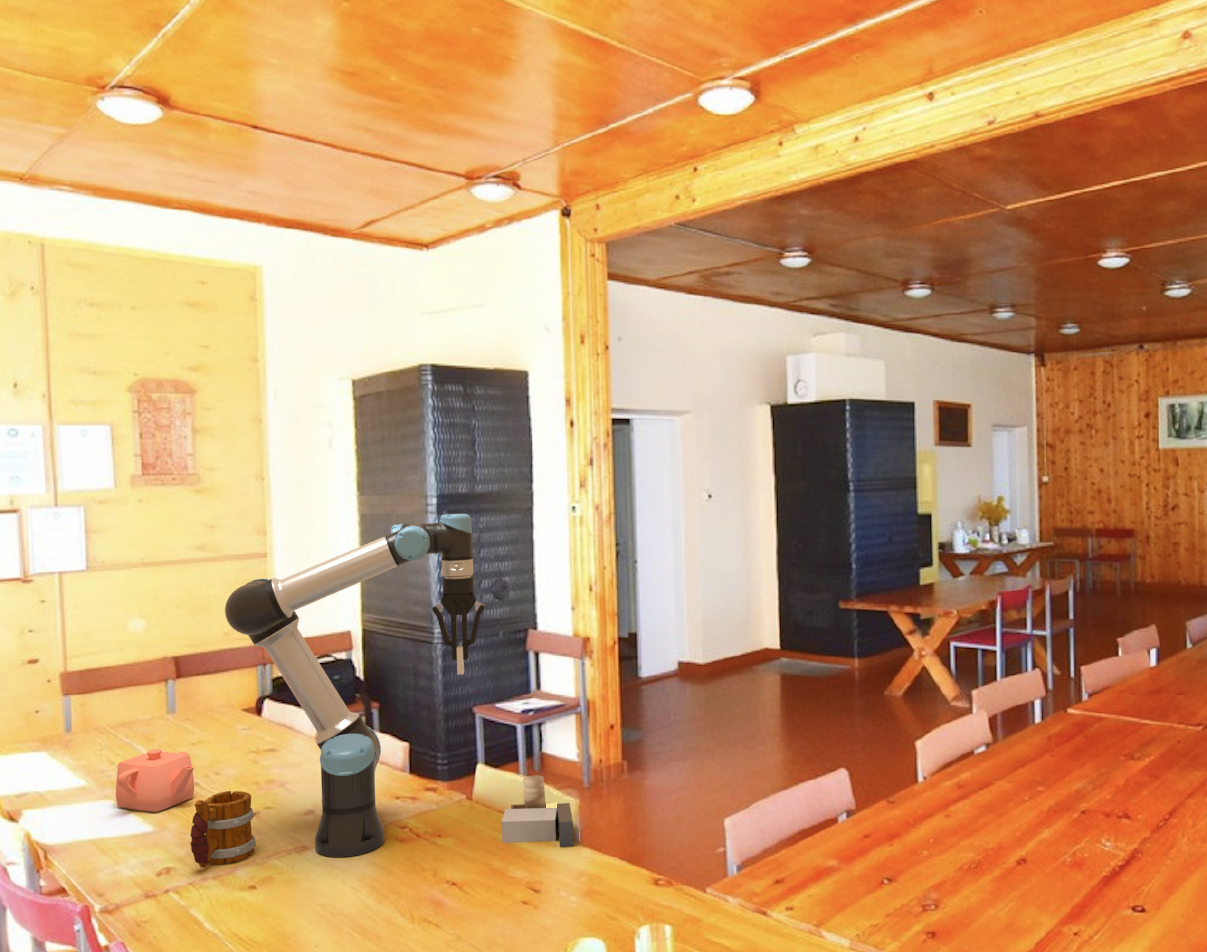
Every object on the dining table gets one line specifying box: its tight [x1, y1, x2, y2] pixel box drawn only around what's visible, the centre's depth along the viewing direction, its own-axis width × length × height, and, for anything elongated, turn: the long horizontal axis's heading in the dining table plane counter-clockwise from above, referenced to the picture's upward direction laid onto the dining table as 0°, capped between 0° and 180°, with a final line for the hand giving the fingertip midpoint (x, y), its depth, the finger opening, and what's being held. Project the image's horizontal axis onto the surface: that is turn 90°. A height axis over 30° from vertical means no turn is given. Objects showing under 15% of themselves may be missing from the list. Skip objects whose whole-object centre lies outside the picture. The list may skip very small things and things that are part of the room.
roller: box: [522, 774, 547, 809], centre depth 225 cm, size 5×5×9 cm
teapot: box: [115, 748, 195, 813], centre depth 244 cm, size 20×22×14 cm
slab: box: [501, 808, 558, 844], centre depth 214 cm, size 12×8×5 cm, turn 90°
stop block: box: [557, 802, 575, 848], centre depth 213 cm, size 3×12×6 cm, turn 6°
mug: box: [190, 790, 257, 868], centre depth 206 cm, size 11×16×15 cm, turn 161°
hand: (460, 673), depth 230 cm, fingers closed
